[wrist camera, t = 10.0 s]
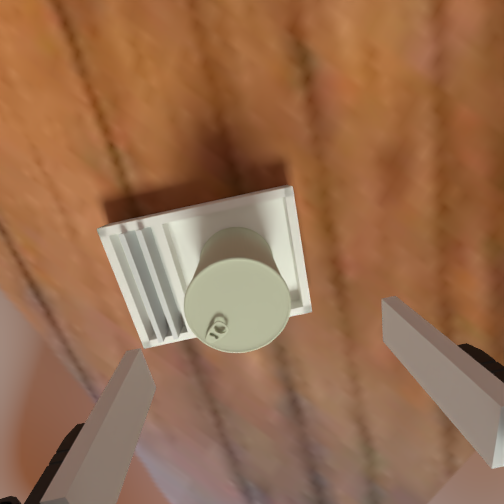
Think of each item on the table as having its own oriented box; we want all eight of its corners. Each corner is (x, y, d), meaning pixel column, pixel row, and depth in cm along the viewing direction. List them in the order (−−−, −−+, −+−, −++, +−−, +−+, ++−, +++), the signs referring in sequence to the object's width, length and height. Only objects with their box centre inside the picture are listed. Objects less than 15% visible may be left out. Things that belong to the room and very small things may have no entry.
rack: (108, 223, 32) (91, 230, 28) (287, 184, 32) (294, 186, 28) (151, 334, 37) (141, 353, 33) (305, 300, 37) (314, 315, 33)
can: (184, 268, 33) (158, 320, 22) (230, 210, 31) (228, 234, 20) (242, 308, 35) (246, 374, 24) (287, 256, 33) (316, 302, 22)
